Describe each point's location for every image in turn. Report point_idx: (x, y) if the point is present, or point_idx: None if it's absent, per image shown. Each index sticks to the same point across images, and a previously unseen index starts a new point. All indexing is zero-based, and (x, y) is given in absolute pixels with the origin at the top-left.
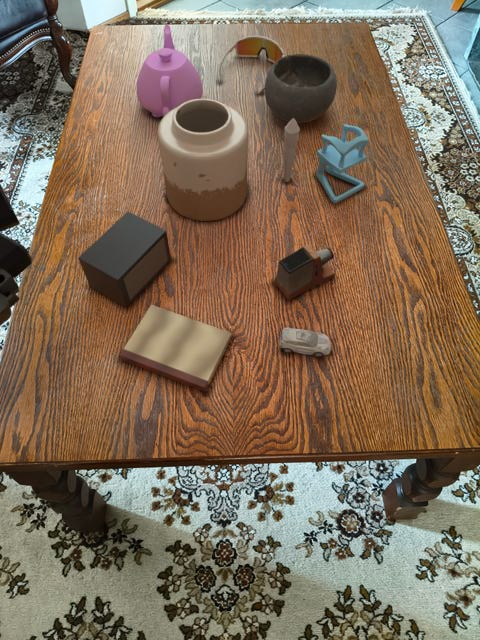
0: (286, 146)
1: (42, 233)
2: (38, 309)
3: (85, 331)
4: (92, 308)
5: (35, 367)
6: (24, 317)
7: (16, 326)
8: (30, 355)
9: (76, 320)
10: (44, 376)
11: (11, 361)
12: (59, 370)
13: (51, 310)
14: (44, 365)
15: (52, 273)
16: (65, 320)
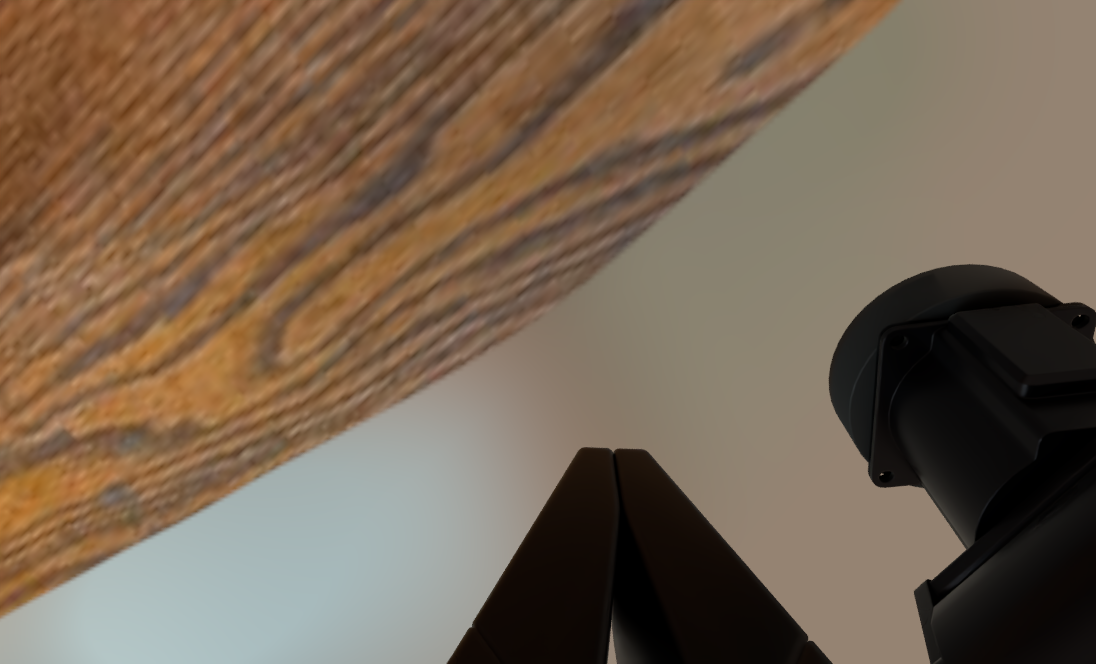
0: None
1: (18, 597)
2: (264, 381)
3: (177, 102)
4: (62, 169)
5: (489, 182)
6: (334, 402)
7: (387, 400)
8: (455, 249)
9: (171, 191)
10: (501, 105)
11: (529, 300)
12: (430, 58)
13: (225, 331)
14: (455, 150)
15: (100, 451)
16: (212, 239)
